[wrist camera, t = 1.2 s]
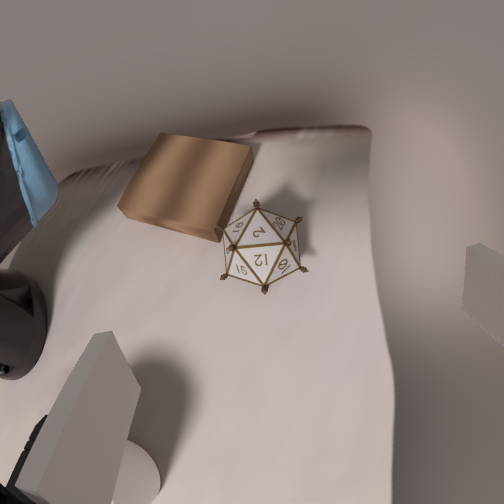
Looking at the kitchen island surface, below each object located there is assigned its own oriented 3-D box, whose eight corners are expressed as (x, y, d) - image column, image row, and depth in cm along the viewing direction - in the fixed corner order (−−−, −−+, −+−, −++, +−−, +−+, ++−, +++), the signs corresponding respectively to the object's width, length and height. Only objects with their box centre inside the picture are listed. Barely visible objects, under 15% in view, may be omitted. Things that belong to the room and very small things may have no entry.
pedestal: (126, 217, 39) (116, 205, 36) (167, 147, 43) (160, 133, 40) (219, 242, 36) (214, 230, 33) (253, 161, 40) (251, 146, 37)
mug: (84, 406, 29) (20, 403, 19) (175, 462, 26) (128, 489, 17) (63, 462, 26) (1, 471, 16) (148, 519, 23) (100, 555, 14)
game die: (257, 262, 39) (247, 180, 34) (322, 279, 34) (321, 188, 29) (206, 302, 32) (186, 210, 28) (277, 330, 28) (267, 225, 23)
